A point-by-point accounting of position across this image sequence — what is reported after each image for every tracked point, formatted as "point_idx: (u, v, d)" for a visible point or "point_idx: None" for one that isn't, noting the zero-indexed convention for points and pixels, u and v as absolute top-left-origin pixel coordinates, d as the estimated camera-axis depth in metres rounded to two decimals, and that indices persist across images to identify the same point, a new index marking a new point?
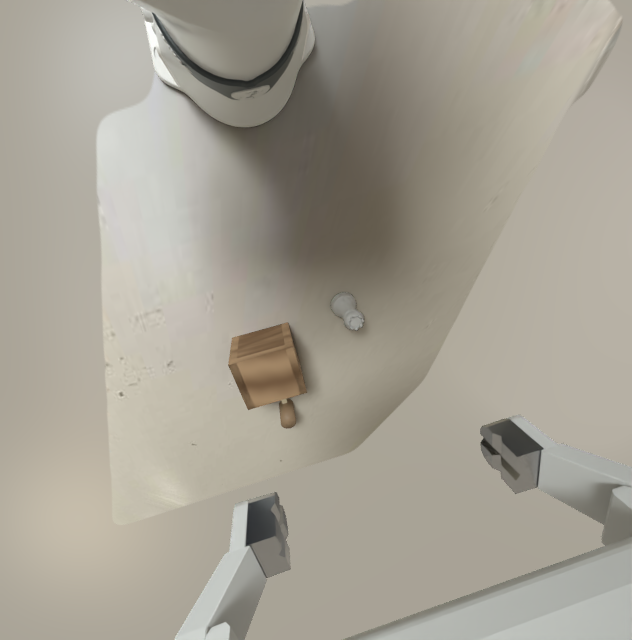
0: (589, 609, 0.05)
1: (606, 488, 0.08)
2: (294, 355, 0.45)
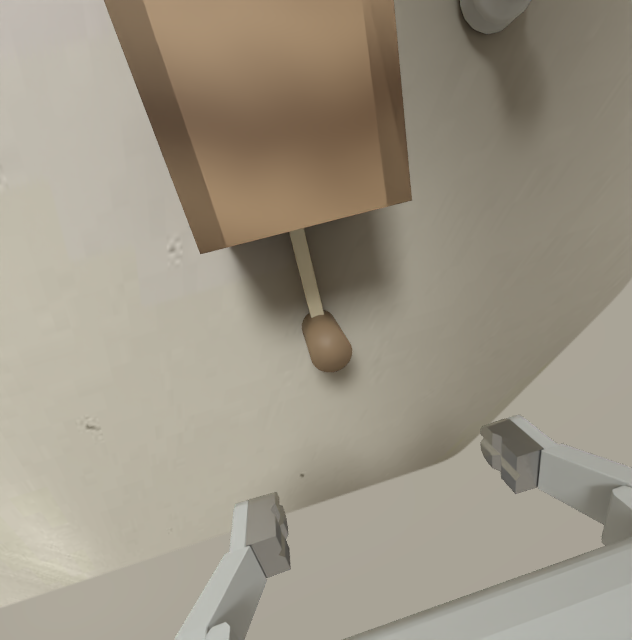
0: (589, 609, 0.05)
1: (605, 488, 0.08)
2: None
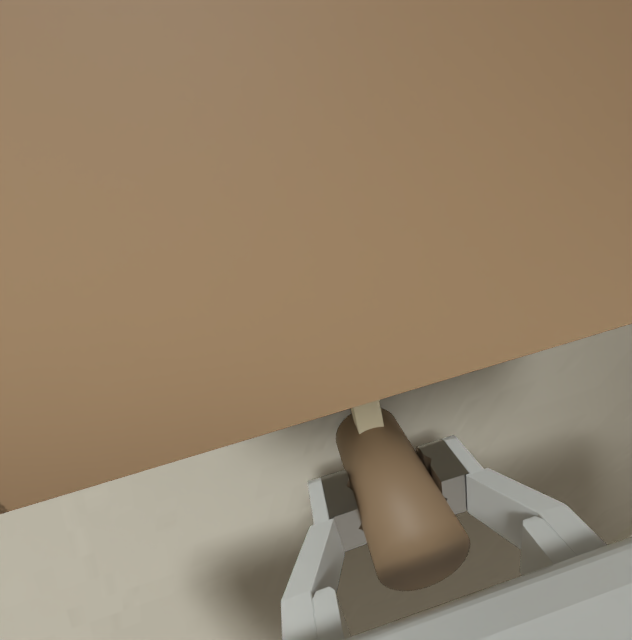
0: (589, 609, 0.05)
1: (522, 517, 0.08)
2: None
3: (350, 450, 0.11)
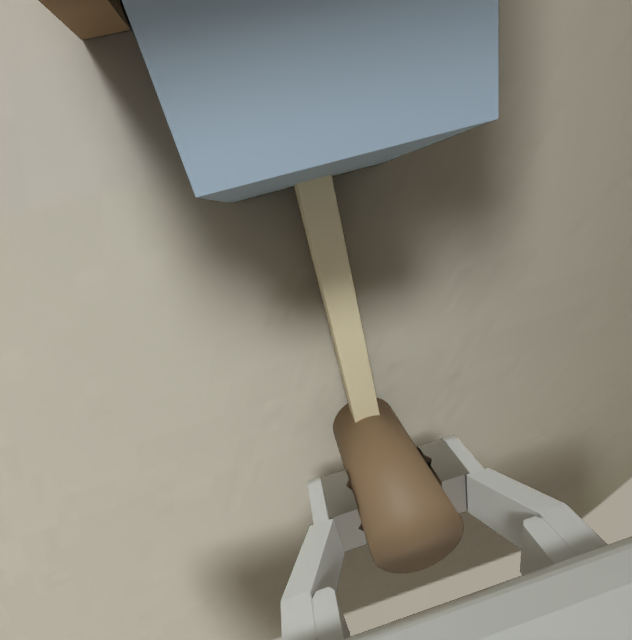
0: (589, 609, 0.05)
1: (522, 517, 0.08)
2: None
3: (346, 438, 0.11)
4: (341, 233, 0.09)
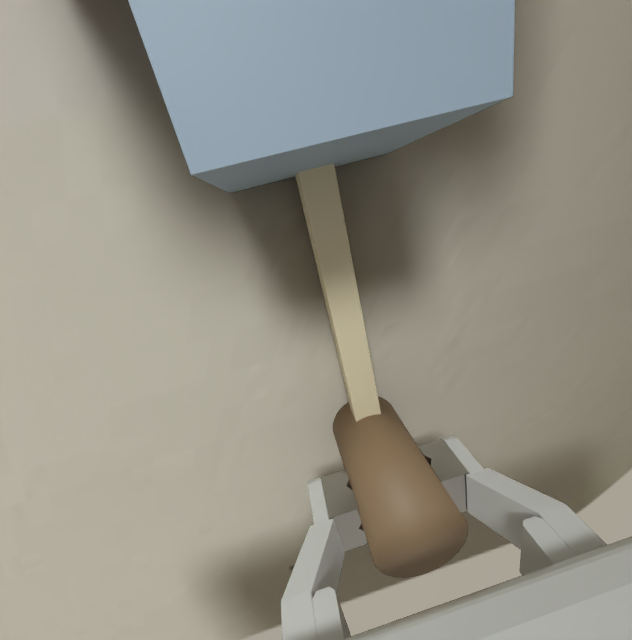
0: (589, 609, 0.05)
1: (522, 517, 0.08)
2: None
3: (347, 438, 0.11)
4: (343, 225, 0.08)
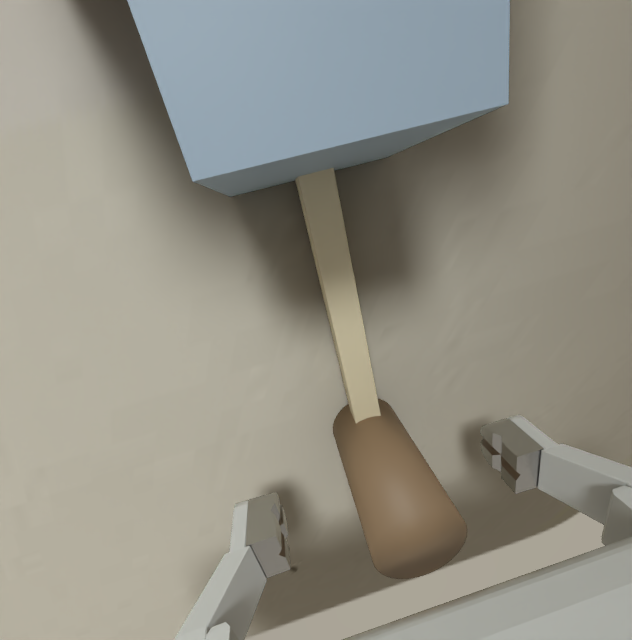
0: (589, 609, 0.05)
1: (605, 488, 0.08)
2: None
3: (347, 439, 0.11)
4: (343, 228, 0.09)
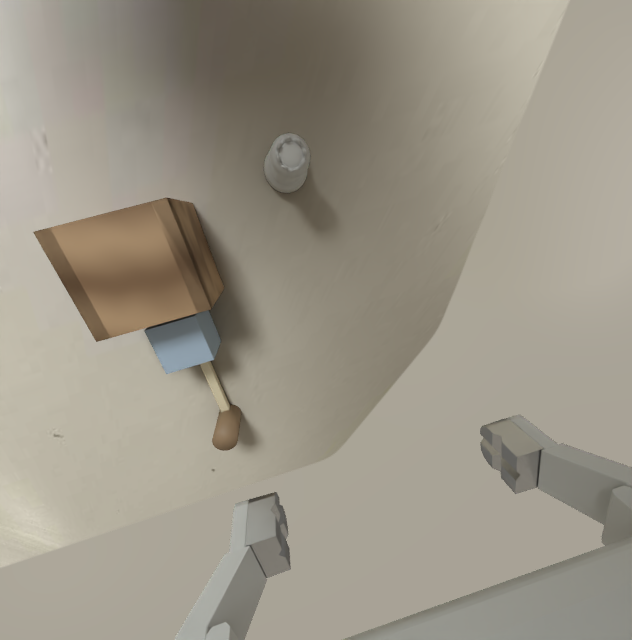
0: (589, 609, 0.05)
1: (605, 488, 0.08)
2: (172, 219, 0.23)
3: (218, 417, 0.37)
4: (207, 362, 0.34)
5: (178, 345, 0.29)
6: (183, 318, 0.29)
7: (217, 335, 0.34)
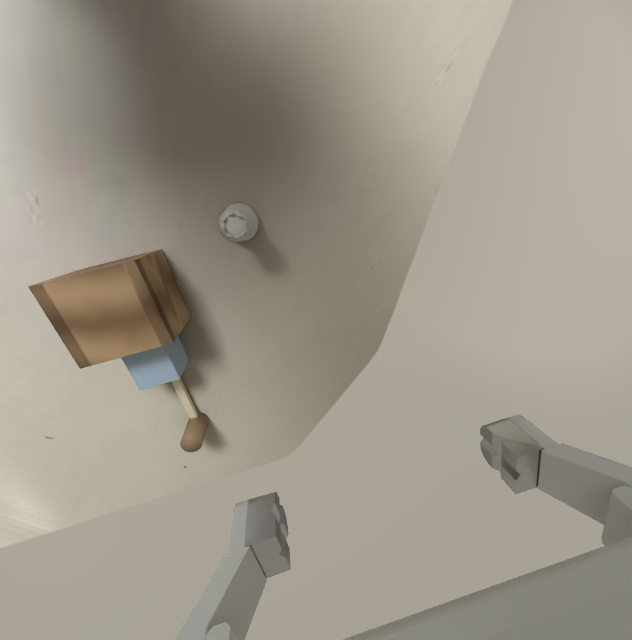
0: (589, 609, 0.05)
1: (605, 488, 0.08)
2: (139, 275, 0.29)
3: (187, 423, 0.43)
4: None
5: (149, 368, 0.36)
6: None
7: (185, 355, 0.40)
